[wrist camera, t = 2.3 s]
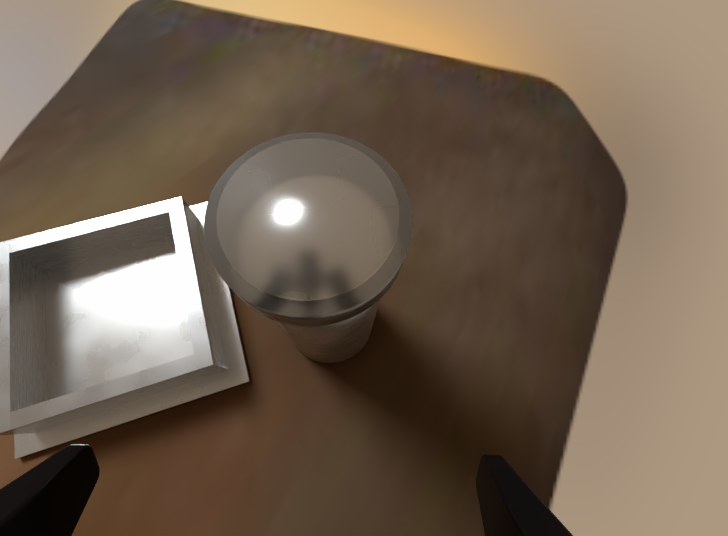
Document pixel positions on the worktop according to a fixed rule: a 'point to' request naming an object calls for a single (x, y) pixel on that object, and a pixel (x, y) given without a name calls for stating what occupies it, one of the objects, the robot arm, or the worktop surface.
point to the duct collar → (111, 324)
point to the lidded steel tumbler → (311, 237)
